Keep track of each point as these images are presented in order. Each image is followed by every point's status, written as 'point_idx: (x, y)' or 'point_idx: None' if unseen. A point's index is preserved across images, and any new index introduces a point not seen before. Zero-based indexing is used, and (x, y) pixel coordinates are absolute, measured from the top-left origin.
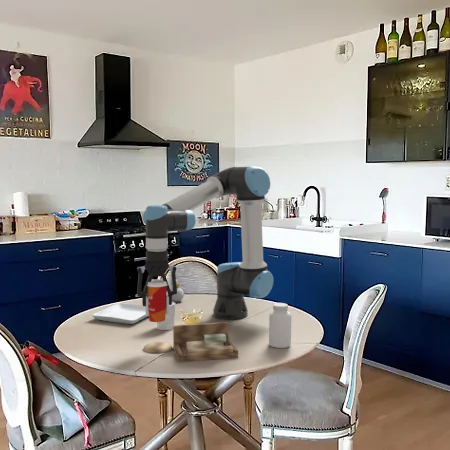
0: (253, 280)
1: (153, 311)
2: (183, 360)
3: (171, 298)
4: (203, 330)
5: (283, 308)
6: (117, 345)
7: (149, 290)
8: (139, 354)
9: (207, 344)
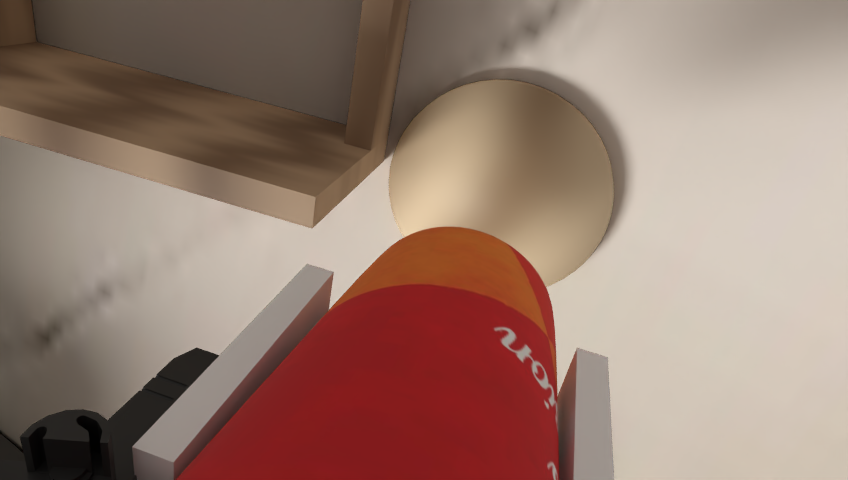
0: None
1: (515, 329)
2: None
3: (116, 422)
4: (87, 105)
5: None
6: (746, 394)
7: None
8: (690, 132)
9: None
